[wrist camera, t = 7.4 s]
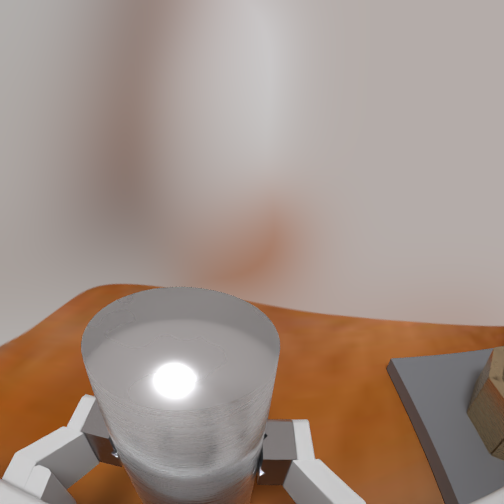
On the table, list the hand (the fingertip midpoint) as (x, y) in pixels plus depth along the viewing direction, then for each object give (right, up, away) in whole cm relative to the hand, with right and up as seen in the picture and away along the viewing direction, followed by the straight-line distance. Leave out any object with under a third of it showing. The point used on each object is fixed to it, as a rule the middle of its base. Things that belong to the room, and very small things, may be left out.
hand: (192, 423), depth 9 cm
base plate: (+20, -6, +4) cm, 21 cm away
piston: (0, -6, +1) cm, 6 cm away
